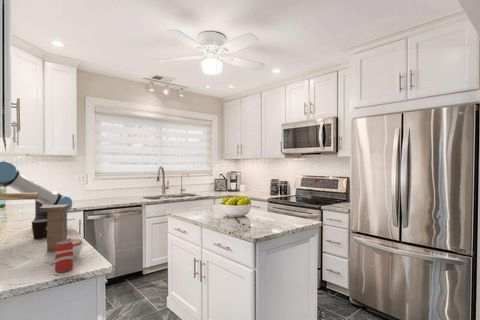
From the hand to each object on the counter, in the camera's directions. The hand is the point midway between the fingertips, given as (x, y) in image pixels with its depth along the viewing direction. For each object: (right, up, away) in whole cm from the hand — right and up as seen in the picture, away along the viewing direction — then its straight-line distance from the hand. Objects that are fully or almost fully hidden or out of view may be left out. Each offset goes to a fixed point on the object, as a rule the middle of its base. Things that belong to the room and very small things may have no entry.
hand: (0, 191), depth 139 cm
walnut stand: (+22, -31, +7) cm, 38 cm away
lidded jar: (+37, -31, -6) cm, 49 cm away
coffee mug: (0, -31, +30) cm, 43 cm away
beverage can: (+44, -31, -21) cm, 58 cm away
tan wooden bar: (+4, -4, +1) cm, 6 cm away
